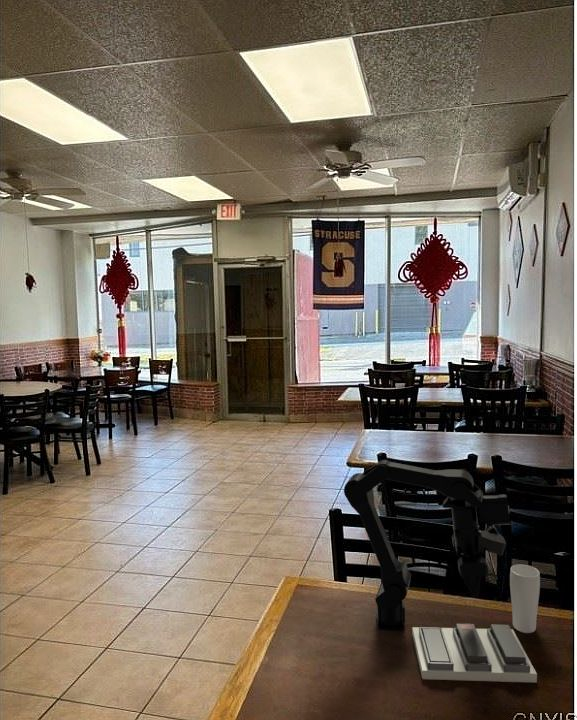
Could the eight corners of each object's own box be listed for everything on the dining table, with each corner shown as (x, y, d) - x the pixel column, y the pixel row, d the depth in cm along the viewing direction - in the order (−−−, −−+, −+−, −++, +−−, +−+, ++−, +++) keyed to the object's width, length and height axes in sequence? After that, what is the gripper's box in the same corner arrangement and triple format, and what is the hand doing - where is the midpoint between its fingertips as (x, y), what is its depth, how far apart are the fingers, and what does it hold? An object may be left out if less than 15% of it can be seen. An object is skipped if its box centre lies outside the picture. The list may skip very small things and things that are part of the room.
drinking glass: (542, 637, 132) (543, 578, 131) (512, 634, 133) (513, 576, 132) (535, 621, 139) (536, 564, 137) (507, 619, 140) (507, 563, 138)
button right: (506, 663, 118) (506, 656, 118) (490, 630, 130) (490, 624, 129) (525, 663, 117) (525, 657, 117) (508, 630, 129) (508, 624, 129)
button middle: (468, 662, 118) (468, 655, 118) (456, 629, 130) (456, 623, 130) (487, 662, 118) (487, 655, 118) (473, 629, 130) (473, 623, 130)
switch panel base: (422, 679, 119) (422, 663, 118) (412, 634, 135) (412, 621, 134) (536, 682, 117) (536, 667, 116) (512, 637, 132) (512, 623, 132)
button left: (430, 667, 119) (430, 660, 119) (422, 634, 131) (422, 628, 131) (449, 667, 119) (449, 661, 119) (439, 634, 131) (439, 628, 131)
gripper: (508, 538, 120) (516, 606, 121) (494, 508, 138) (500, 567, 139) (456, 540, 123) (464, 607, 123) (448, 510, 141) (455, 569, 142)
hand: (472, 586), depth 132 cm, fingers open, 9 cm apart
